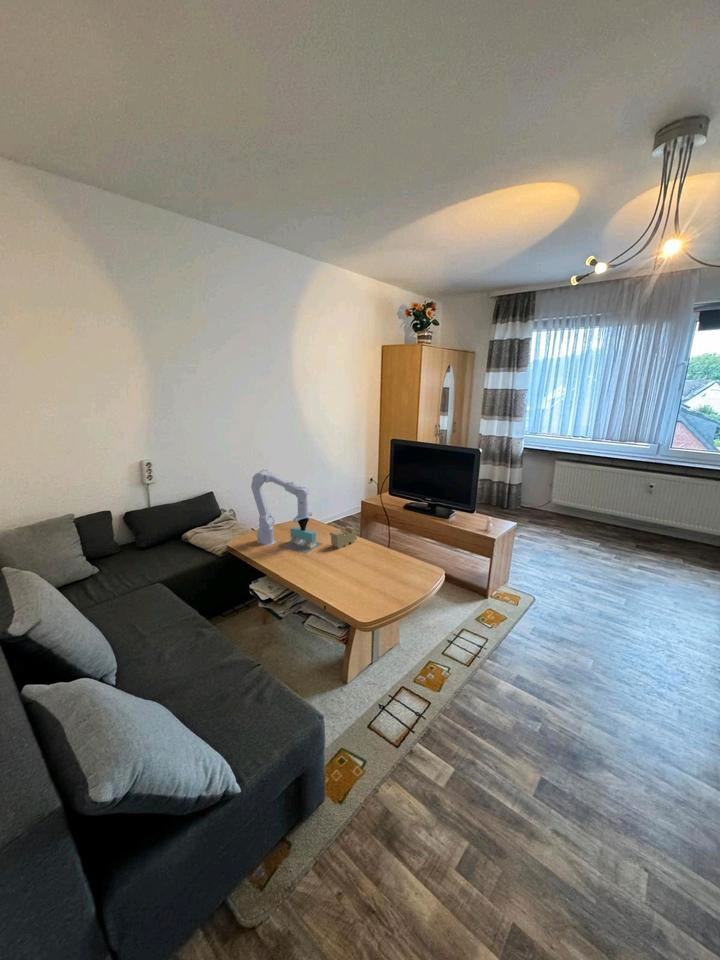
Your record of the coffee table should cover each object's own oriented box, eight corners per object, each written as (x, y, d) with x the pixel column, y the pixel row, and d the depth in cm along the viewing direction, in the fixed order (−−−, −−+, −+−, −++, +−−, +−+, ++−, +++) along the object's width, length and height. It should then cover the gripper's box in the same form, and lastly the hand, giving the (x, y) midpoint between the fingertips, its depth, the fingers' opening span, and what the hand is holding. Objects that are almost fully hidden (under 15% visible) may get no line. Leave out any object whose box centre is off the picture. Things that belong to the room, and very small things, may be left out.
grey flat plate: (281, 547, 223) (281, 546, 223) (299, 537, 237) (299, 537, 237) (305, 554, 215) (305, 553, 214) (322, 544, 228) (322, 543, 228)
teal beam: (290, 536, 228) (290, 528, 227) (294, 534, 231) (294, 526, 230) (312, 542, 220) (311, 534, 219) (315, 540, 223) (315, 532, 222)
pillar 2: (304, 546, 223) (303, 540, 222) (309, 543, 227) (309, 537, 226) (310, 548, 221) (310, 542, 220) (316, 545, 225) (316, 539, 224)
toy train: (356, 542, 232) (357, 527, 229) (336, 551, 220) (336, 535, 217) (350, 540, 235) (350, 524, 233) (329, 548, 223) (329, 532, 221)
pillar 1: (290, 542, 228) (290, 536, 227) (296, 540, 232) (296, 533, 231) (297, 544, 226) (297, 538, 225) (302, 541, 230) (302, 535, 229)
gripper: (300, 513, 213) (300, 535, 216) (315, 506, 225) (316, 527, 228) (290, 510, 216) (291, 533, 220) (306, 504, 228) (306, 525, 232)
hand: (303, 530), depth 224 cm, fingers closed, pressing on teal beam
